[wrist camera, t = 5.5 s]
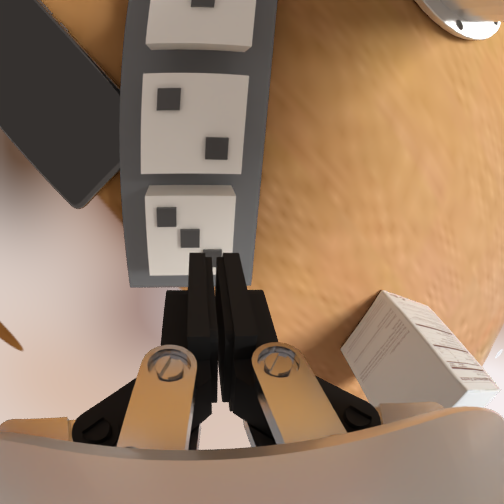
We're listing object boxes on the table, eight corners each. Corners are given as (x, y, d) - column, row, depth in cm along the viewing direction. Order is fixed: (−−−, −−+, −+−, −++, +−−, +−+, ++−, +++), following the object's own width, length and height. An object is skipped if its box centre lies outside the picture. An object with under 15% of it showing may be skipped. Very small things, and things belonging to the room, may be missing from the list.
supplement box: (387, 357, 31) (444, 447, 20) (337, 348, 28) (395, 459, 17) (428, 303, 28) (503, 390, 17) (382, 285, 26) (468, 392, 15)
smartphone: (78, 215, 18) (-51, 62, 10) (82, 208, 19) (-43, 62, 11) (160, 133, 17) (17, -24, 9) (162, 131, 18) (23, -20, 10)
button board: (141, -40, 12) (137, -49, 10) (274, -34, 13) (281, -43, 12) (133, 275, 21) (130, 287, 20) (247, 273, 23) (250, 285, 21)
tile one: (160, -28, 11) (157, -44, 9) (252, -25, 11) (260, -40, 10) (151, 50, 13) (144, 43, 11) (244, 52, 14) (252, 45, 12)
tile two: (148, 76, 13) (142, 73, 11) (242, 78, 14) (249, 75, 12) (146, 164, 15) (140, 175, 13) (235, 165, 16) (241, 175, 14)
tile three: (149, 185, 17) (144, 197, 15) (231, 185, 18) (236, 197, 16) (152, 258, 19) (149, 277, 17) (227, 257, 20) (231, 276, 18)
